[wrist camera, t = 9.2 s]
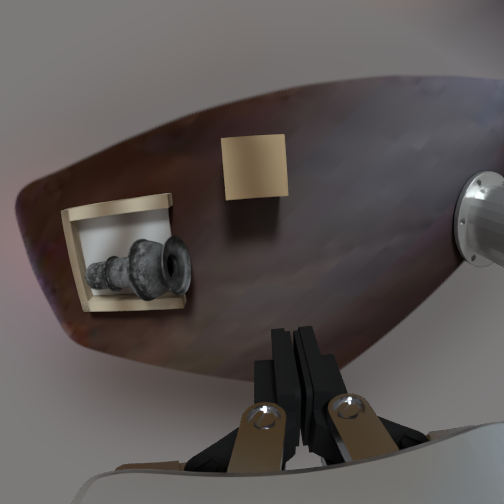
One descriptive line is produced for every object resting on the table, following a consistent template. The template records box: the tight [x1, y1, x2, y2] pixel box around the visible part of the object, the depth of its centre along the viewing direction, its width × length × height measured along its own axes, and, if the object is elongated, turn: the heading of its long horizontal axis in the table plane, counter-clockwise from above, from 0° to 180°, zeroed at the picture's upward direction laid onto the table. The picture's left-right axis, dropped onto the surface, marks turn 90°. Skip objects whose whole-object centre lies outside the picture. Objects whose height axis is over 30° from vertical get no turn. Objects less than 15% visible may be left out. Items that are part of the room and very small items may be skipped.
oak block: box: [221, 134, 288, 200], centre depth 26 cm, size 5×5×5 cm
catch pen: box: [61, 193, 186, 312], centre depth 29 cm, size 12×11×2 cm
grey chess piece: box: [84, 236, 191, 301], centre depth 28 cm, size 6×6×12 cm
